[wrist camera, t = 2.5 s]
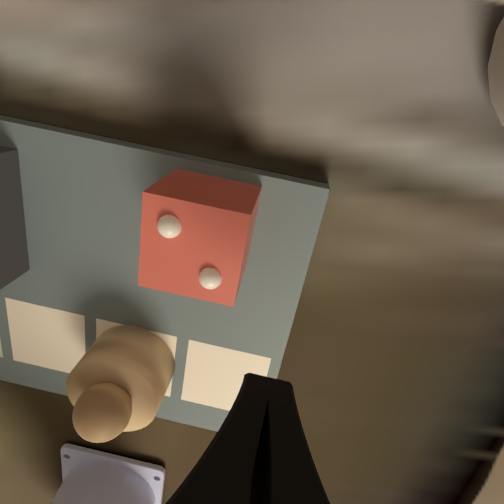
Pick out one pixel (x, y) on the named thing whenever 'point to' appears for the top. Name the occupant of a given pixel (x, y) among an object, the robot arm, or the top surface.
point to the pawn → (119, 383)
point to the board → (136, 267)
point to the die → (197, 235)
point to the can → (497, 73)
